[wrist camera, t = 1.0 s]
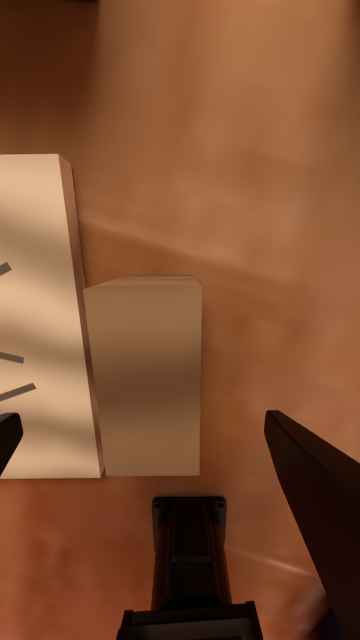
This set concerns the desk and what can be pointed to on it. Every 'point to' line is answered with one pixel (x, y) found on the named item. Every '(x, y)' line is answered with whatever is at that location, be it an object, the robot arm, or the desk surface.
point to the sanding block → (147, 372)
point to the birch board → (45, 323)
